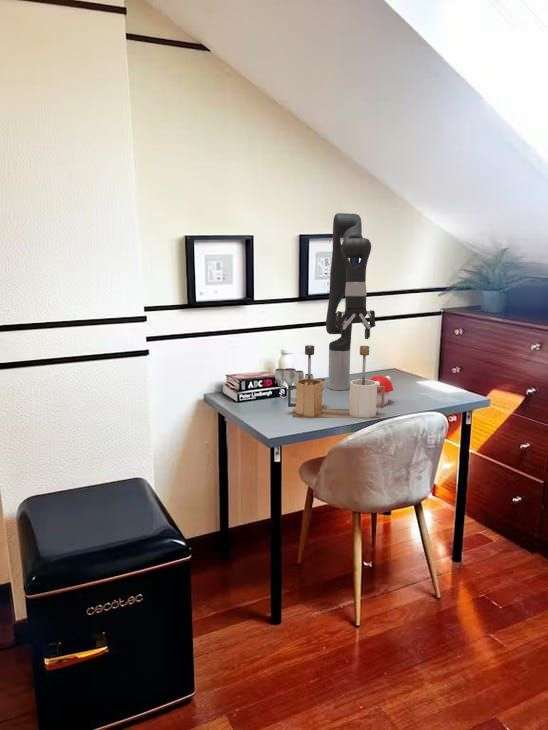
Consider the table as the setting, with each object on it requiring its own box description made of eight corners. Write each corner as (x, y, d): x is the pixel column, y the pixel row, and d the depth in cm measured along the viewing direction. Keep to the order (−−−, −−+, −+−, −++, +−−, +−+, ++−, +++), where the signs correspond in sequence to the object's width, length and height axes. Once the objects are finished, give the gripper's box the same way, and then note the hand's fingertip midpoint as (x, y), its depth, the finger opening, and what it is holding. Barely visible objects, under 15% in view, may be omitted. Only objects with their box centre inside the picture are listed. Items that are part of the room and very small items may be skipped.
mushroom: (366, 408, 240) (367, 379, 238) (363, 401, 251) (364, 372, 248) (394, 409, 240) (395, 379, 237) (389, 401, 251) (390, 372, 248)
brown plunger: (353, 387, 231) (354, 344, 228) (371, 387, 231) (372, 344, 227) (355, 392, 225) (356, 348, 221) (373, 392, 225) (374, 348, 221)
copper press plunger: (300, 387, 232) (300, 344, 228) (317, 387, 232) (318, 344, 228) (300, 391, 226) (300, 347, 222) (318, 391, 225) (319, 347, 222)
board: (292, 411, 236) (292, 408, 236) (376, 412, 235) (376, 409, 235) (292, 420, 226) (292, 417, 225) (380, 421, 225) (380, 418, 224)
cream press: (348, 409, 235) (349, 379, 232) (381, 410, 234) (382, 379, 232) (350, 417, 225) (351, 385, 223) (385, 417, 225) (386, 386, 222)
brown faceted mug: (288, 409, 236) (288, 378, 233) (321, 409, 235) (321, 378, 232) (287, 416, 226) (287, 385, 224) (322, 417, 226) (322, 385, 223)
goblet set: (271, 397, 256) (271, 366, 253) (282, 395, 260) (282, 364, 257) (318, 413, 235) (319, 379, 232) (329, 410, 239) (329, 376, 236)
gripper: (370, 294, 227) (370, 337, 229) (333, 294, 224) (333, 339, 227) (378, 294, 220) (377, 339, 222) (340, 295, 217) (339, 341, 219)
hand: (355, 339), depth 224 cm, fingers open, 8 cm apart
